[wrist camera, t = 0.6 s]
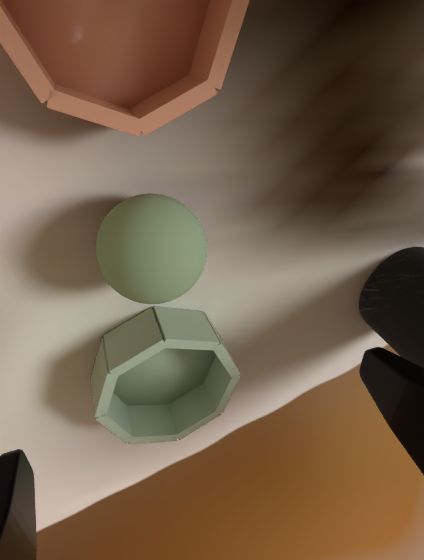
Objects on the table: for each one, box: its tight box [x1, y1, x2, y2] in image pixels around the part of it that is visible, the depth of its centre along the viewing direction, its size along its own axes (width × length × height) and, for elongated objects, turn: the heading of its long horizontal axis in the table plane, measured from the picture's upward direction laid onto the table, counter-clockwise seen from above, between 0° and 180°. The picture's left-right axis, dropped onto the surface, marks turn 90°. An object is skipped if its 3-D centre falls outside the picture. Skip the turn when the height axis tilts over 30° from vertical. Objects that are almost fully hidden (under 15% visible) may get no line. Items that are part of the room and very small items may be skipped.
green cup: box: [91, 307, 241, 444], centre depth 23 cm, size 8×8×3 cm
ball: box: [96, 194, 207, 304], centre depth 17 cm, size 5×5×5 cm
